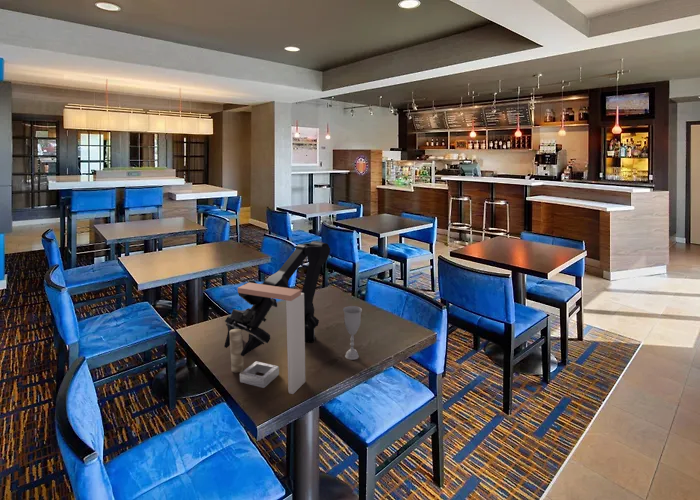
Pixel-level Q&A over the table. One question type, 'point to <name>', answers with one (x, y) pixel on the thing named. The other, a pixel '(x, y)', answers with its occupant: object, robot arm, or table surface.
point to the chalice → (352, 327)
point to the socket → (256, 380)
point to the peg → (236, 350)
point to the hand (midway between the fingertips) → (233, 351)
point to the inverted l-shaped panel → (288, 327)
